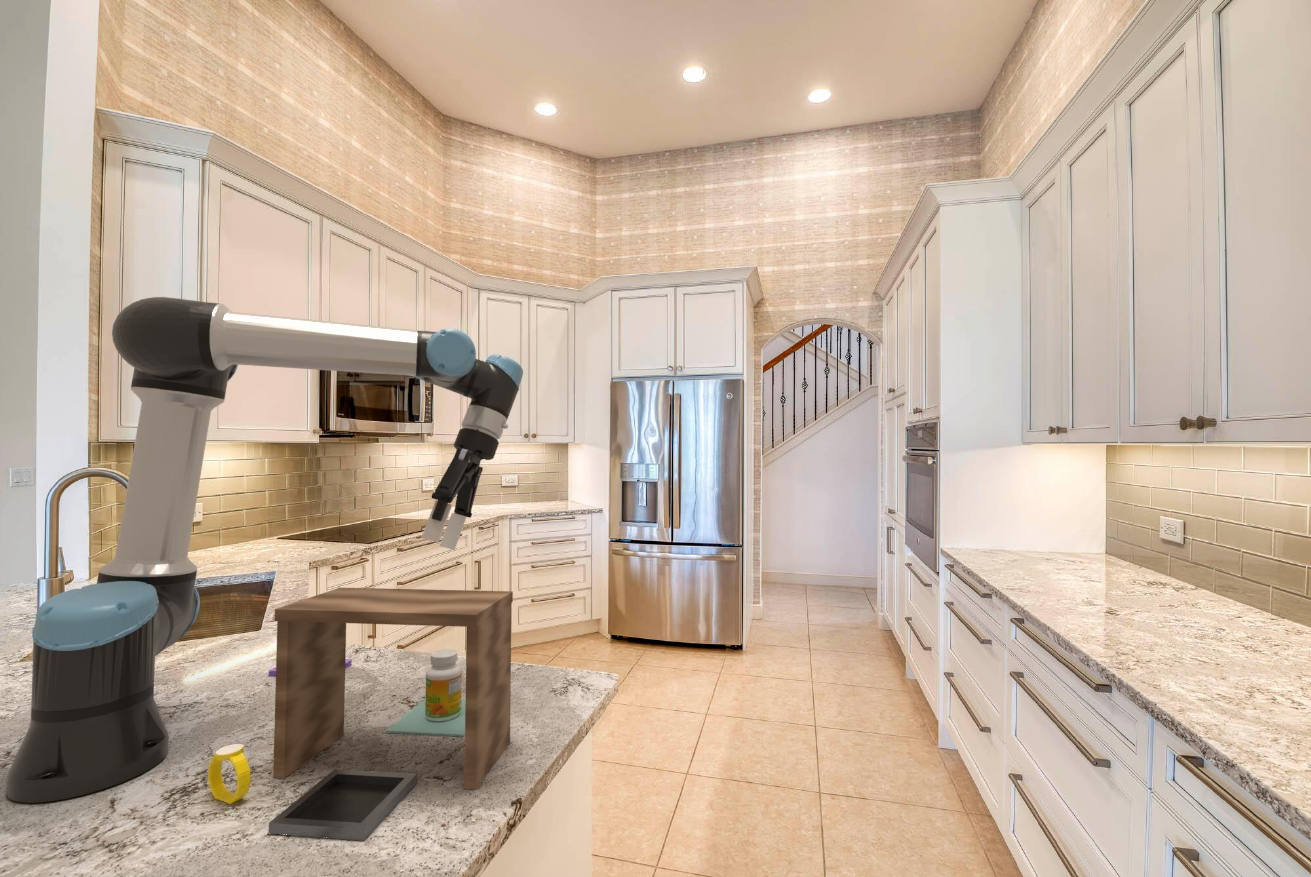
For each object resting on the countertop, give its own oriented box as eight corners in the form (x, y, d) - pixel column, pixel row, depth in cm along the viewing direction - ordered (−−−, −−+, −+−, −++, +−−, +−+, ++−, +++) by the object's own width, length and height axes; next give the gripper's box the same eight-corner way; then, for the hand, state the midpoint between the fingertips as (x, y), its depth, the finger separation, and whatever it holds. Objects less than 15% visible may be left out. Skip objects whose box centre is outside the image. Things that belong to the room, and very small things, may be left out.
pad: (425, 699, 98) (425, 698, 98) (494, 702, 97) (494, 701, 97) (386, 732, 86) (386, 730, 86) (463, 736, 85) (463, 734, 85)
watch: (201, 802, 69) (200, 750, 69) (226, 790, 72) (225, 740, 72) (232, 810, 67) (232, 757, 67) (257, 797, 69) (256, 746, 70)
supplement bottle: (417, 718, 90) (418, 655, 91) (444, 705, 95) (445, 645, 95) (441, 725, 88) (442, 660, 88) (468, 711, 92) (469, 650, 93)
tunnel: (336, 732, 86) (339, 587, 87) (511, 740, 84) (512, 591, 84) (270, 779, 73) (274, 609, 74) (474, 791, 71) (476, 614, 71)
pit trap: (334, 778, 73) (334, 769, 74) (416, 783, 72) (416, 773, 72) (268, 834, 63) (268, 822, 63) (363, 840, 61) (364, 829, 61)
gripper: (490, 419, 96) (444, 542, 90) (507, 456, 120) (471, 555, 114) (446, 406, 96) (397, 529, 90) (471, 446, 120) (434, 545, 113)
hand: (438, 544), depth 102 cm, fingers open, 13 cm apart
